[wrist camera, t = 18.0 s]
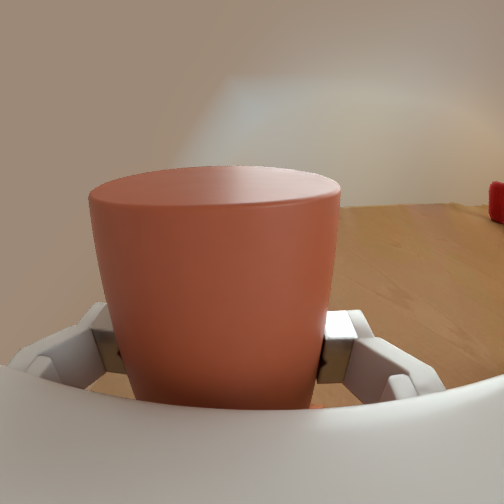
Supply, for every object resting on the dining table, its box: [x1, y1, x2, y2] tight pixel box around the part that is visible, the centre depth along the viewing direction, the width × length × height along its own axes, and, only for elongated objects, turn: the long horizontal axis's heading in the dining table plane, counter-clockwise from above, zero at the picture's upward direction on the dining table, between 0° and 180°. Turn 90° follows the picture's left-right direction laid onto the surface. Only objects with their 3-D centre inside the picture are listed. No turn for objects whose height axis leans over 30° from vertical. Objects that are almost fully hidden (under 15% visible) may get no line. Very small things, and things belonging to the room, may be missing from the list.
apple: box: [489, 181, 504, 224], centre depth 69 cm, size 10×10×14 cm
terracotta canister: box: [88, 166, 341, 410], centre depth 9 cm, size 6×6×10 cm
